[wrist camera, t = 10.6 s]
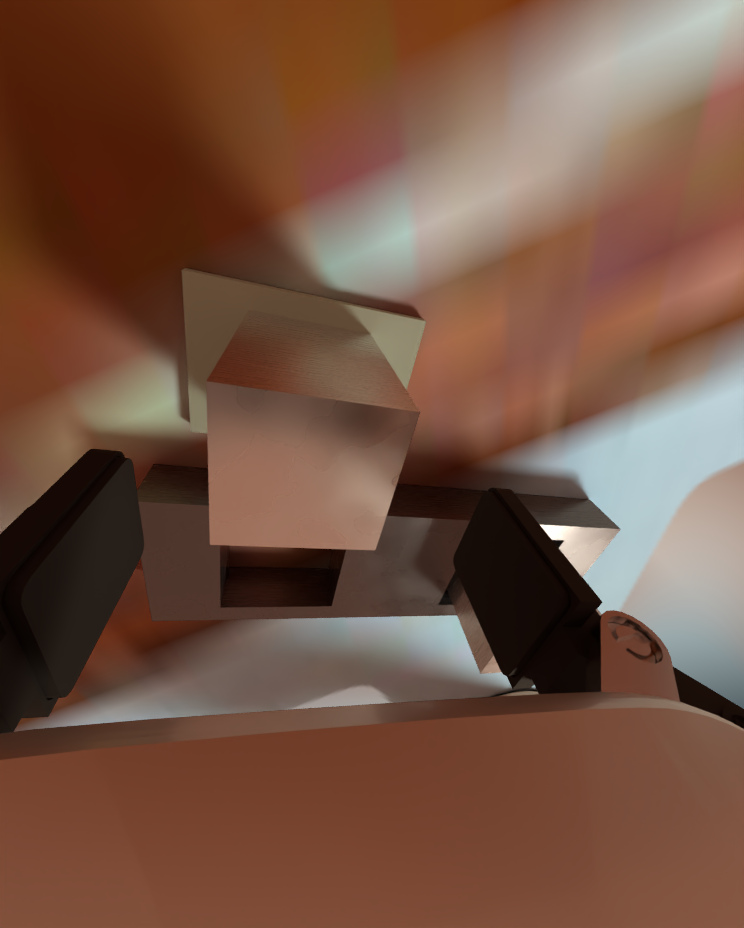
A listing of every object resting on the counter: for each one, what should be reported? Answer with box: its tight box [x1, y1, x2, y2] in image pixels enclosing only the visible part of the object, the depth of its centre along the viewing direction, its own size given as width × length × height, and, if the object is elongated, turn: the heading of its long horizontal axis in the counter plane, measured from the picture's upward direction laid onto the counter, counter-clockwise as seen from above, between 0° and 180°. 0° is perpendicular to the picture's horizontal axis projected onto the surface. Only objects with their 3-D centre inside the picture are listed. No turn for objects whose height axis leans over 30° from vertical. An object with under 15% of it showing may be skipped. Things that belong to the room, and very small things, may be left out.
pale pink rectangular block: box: [206, 310, 420, 550], centre depth 13 cm, size 5×5×8 cm
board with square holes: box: [137, 464, 620, 621], centre depth 23 cm, size 9×28×3 cm, turn 77°
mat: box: [182, 268, 426, 433], centre depth 17 cm, size 7×10×1 cm
